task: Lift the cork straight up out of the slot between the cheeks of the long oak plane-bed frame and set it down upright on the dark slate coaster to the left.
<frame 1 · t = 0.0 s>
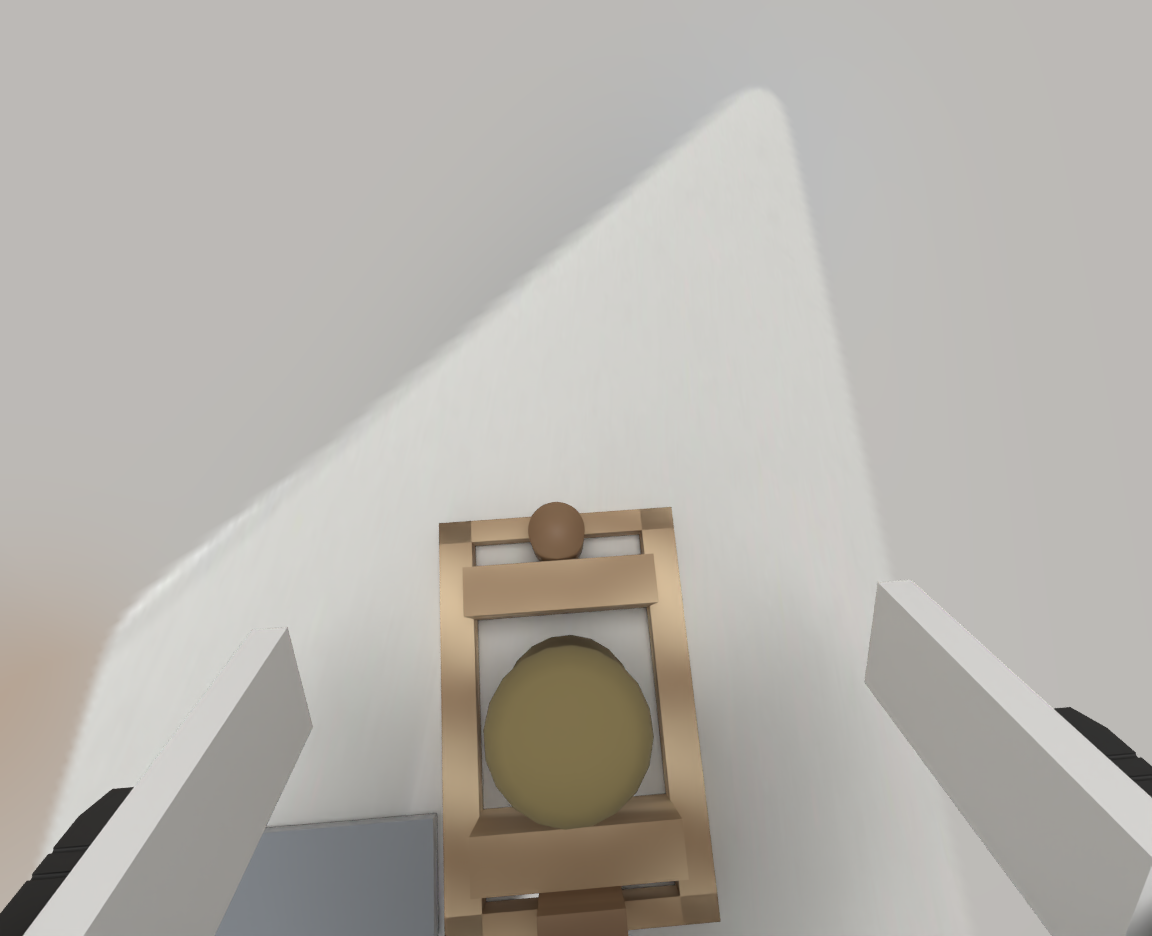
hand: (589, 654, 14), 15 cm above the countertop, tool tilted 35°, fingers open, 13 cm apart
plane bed: (568, 703, 28), on the countertop
cork: (568, 703, 28), resting in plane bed
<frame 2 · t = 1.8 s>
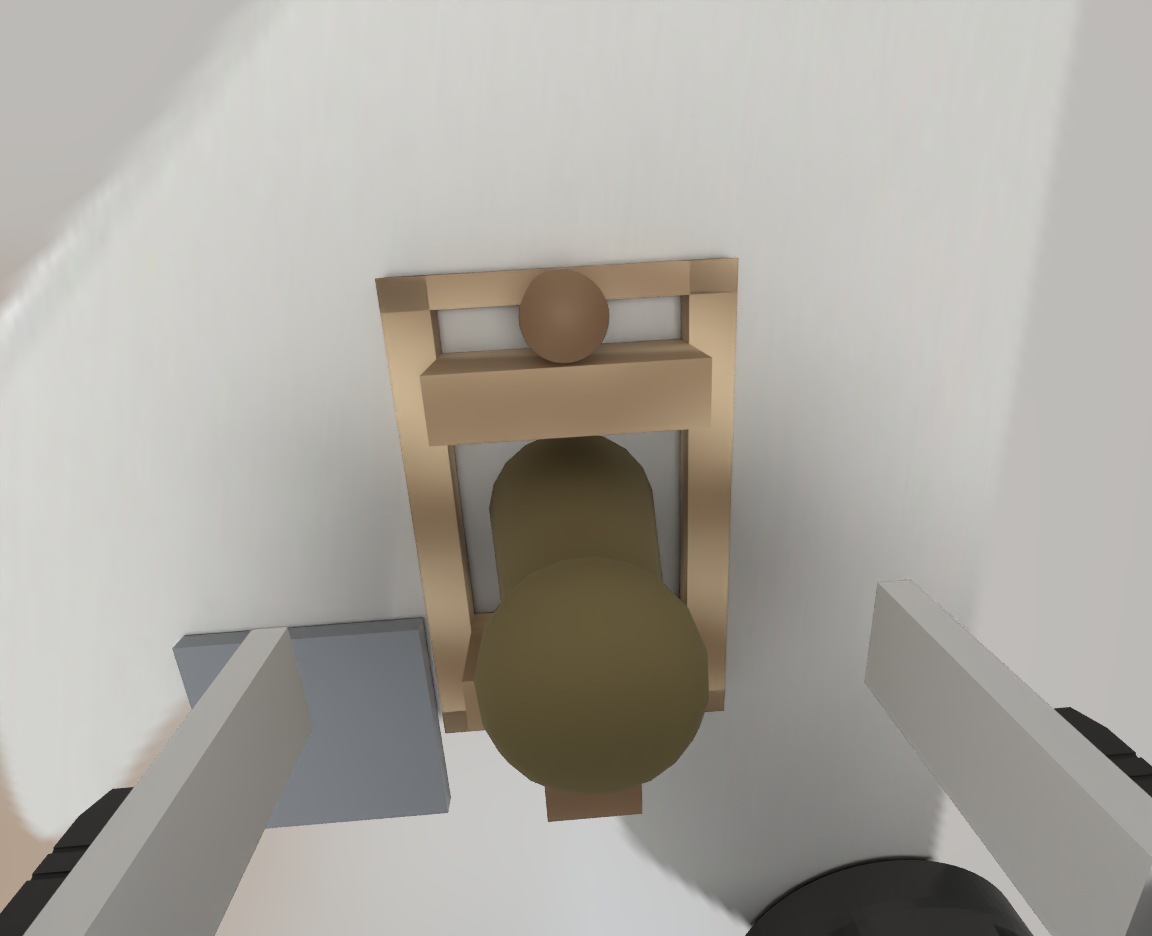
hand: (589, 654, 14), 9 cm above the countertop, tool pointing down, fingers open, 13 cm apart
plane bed: (572, 511, 22), on the countertop
slate coaster: (326, 721, 25), on the countertop
cork: (571, 508, 23), resting in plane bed
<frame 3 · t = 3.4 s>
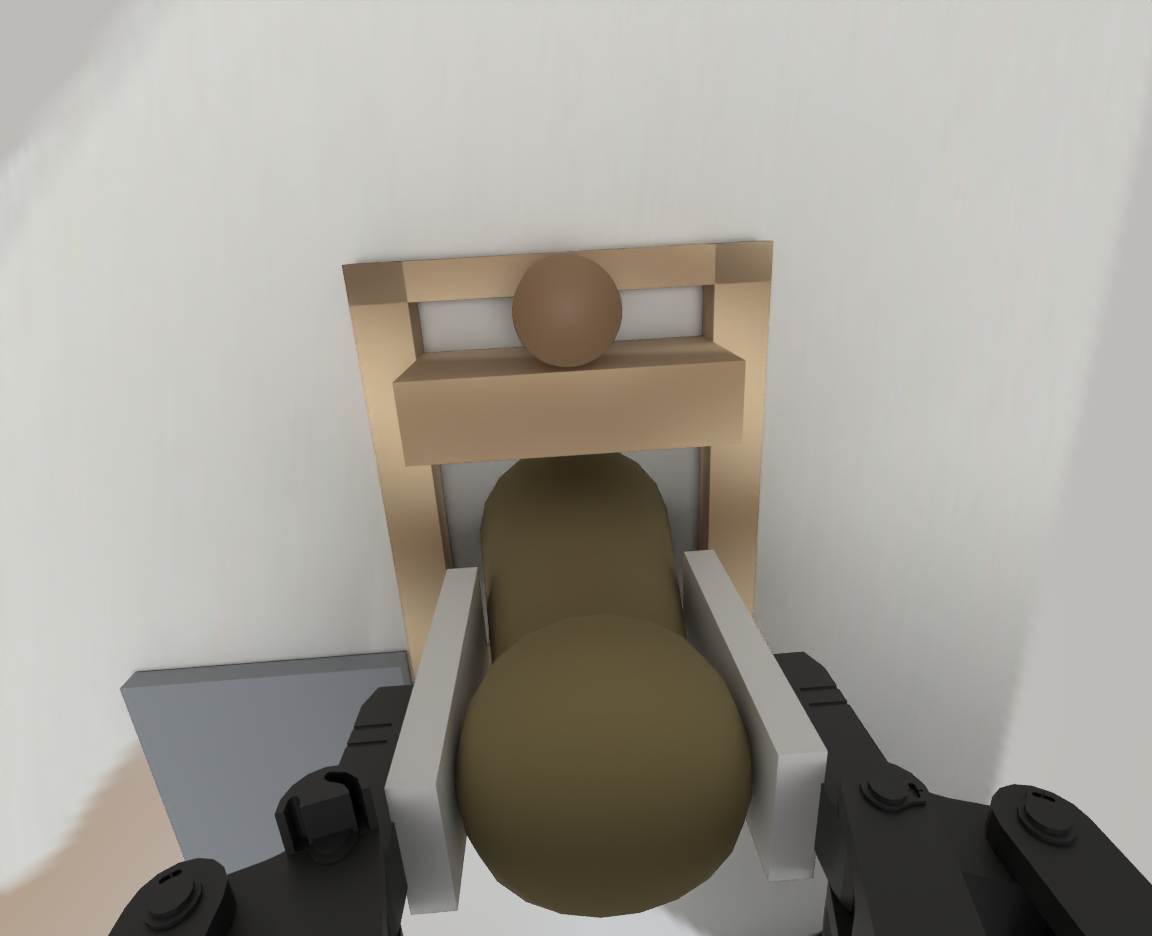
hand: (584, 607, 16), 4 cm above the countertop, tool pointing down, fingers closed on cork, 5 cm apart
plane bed: (575, 532, 20), on the countertop
slate coaster: (299, 764, 22), on the countertop
cork: (574, 529, 20), resting in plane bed, touching gripper
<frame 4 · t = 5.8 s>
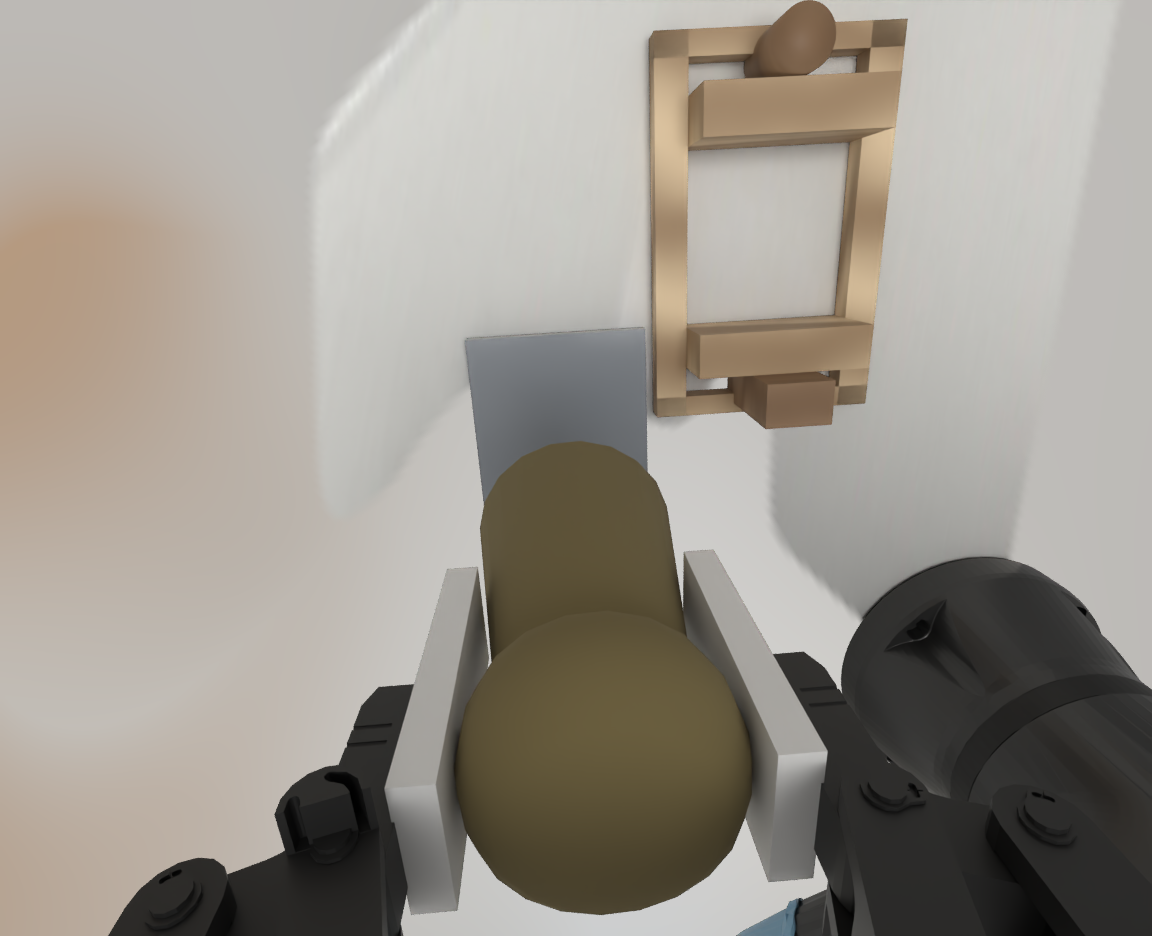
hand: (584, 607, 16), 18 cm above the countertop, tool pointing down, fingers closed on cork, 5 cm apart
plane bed: (762, 237, 30), on the countertop
slate coaster: (560, 417, 33), on the countertop
cork: (574, 528, 20), point 14 cm above the countertop, touching gripper
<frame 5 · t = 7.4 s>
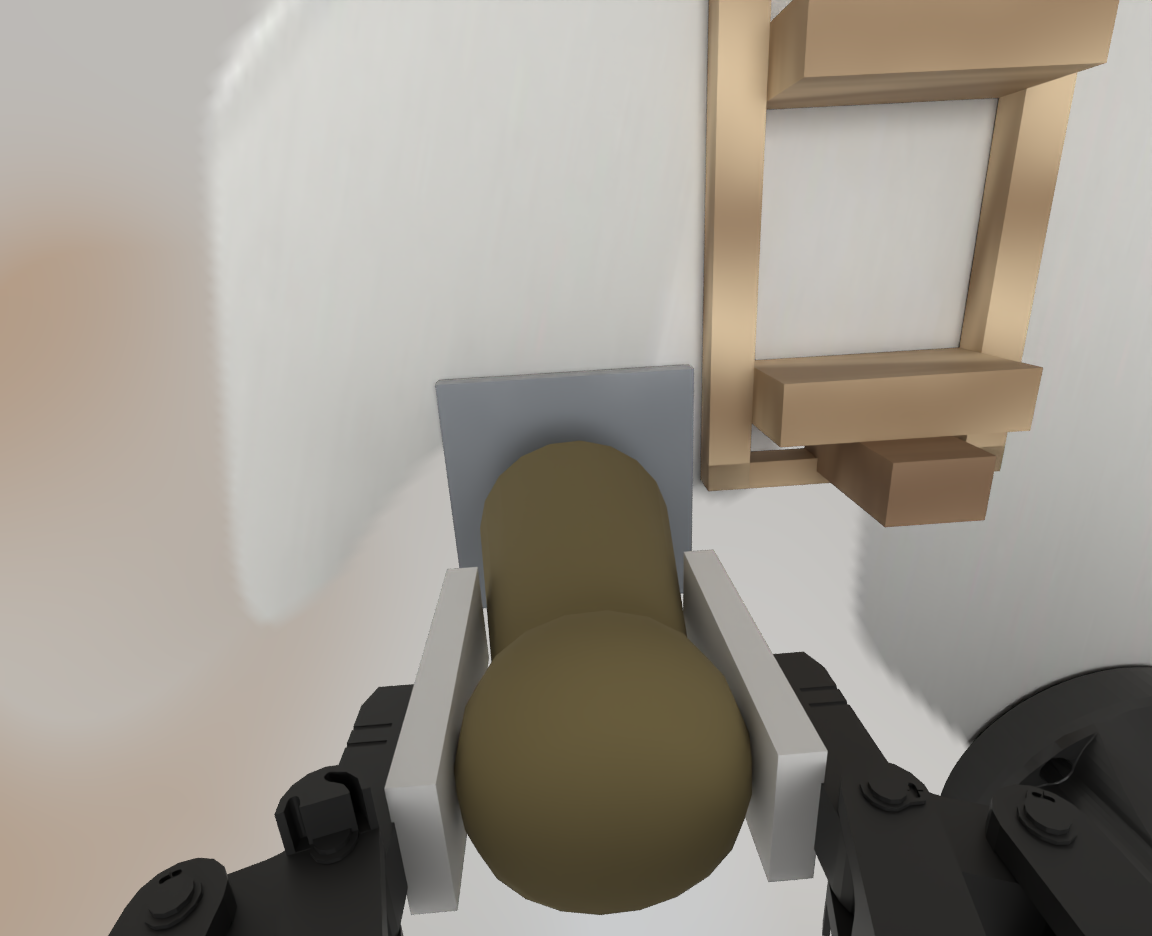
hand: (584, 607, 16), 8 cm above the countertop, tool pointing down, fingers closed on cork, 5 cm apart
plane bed: (863, 237, 21), on the countertop
slate coaster: (571, 488, 24), on the countertop
cork: (574, 527, 20), point 4 cm above the countertop, touching gripper
when the fingers open (6 cm above the countertop, at t = 8.6 s): cork drops 1 cm, resting on slate coaster.
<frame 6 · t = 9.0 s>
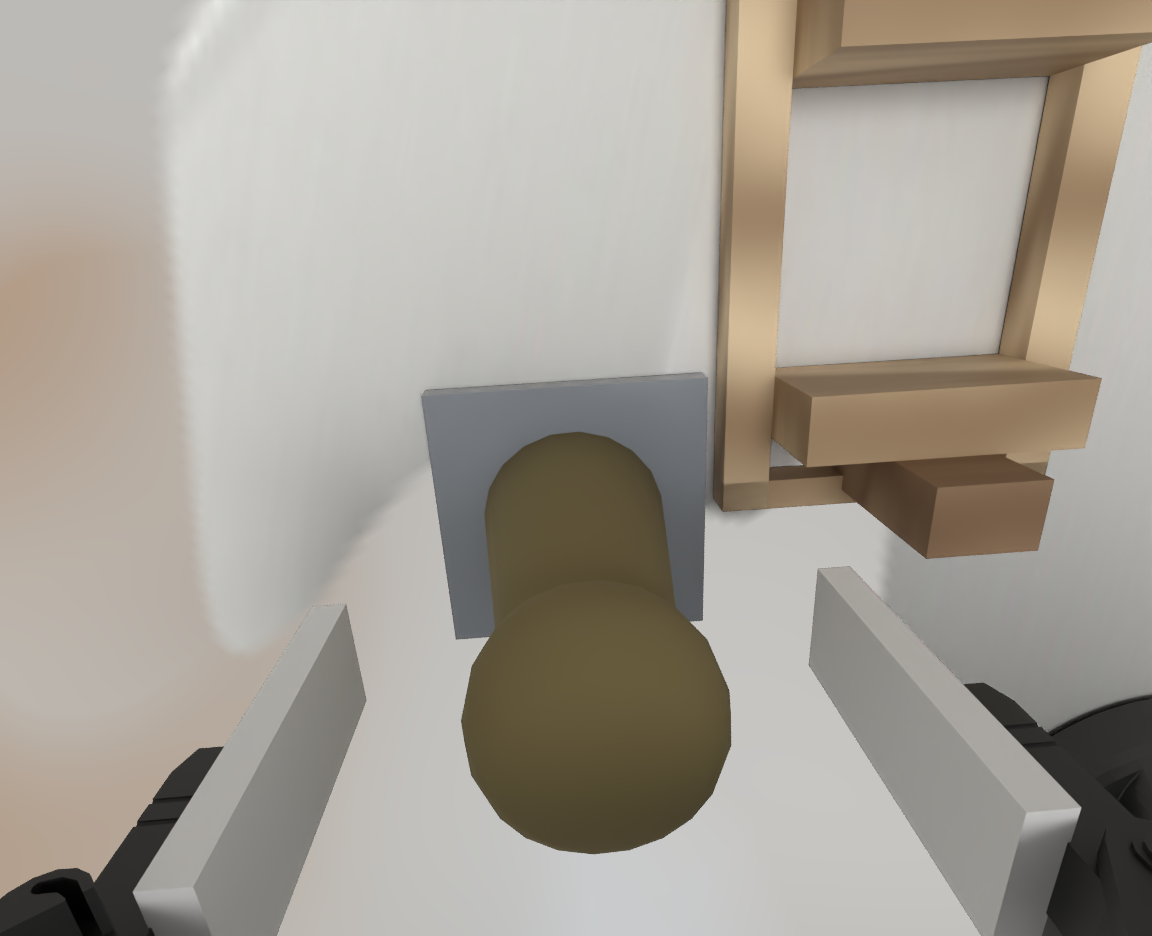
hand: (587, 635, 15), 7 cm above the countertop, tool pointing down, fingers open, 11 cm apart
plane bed: (896, 232, 19), on the countertop
slate coaster: (572, 507, 22), on the countertop
cork: (573, 514, 21), point 1 cm above the countertop, touching slate coaster
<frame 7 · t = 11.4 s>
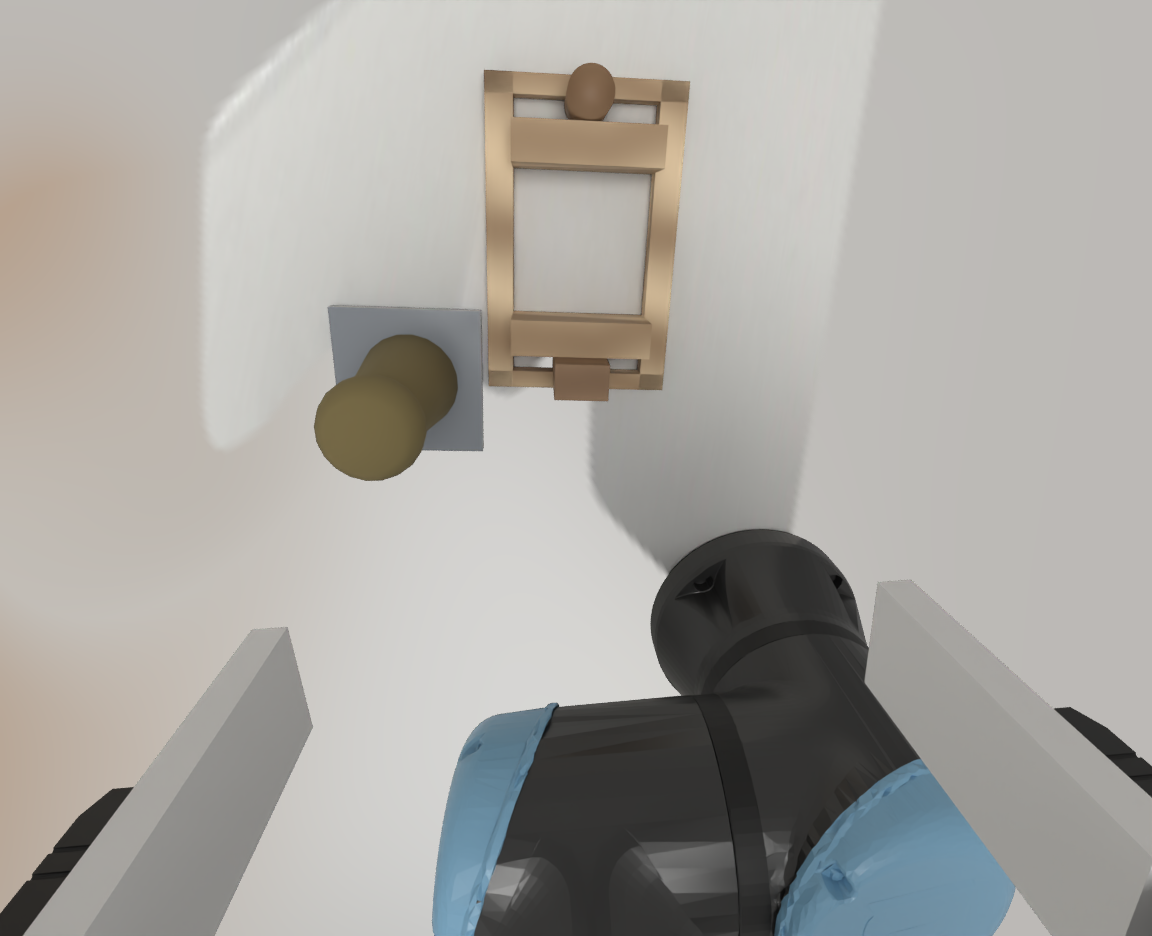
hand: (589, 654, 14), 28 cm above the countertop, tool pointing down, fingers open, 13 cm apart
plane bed: (580, 244, 37), on the countertop
slate coaster: (411, 379, 39), on the countertop
cork: (410, 381, 39), point 1 cm above the countertop, touching slate coaster
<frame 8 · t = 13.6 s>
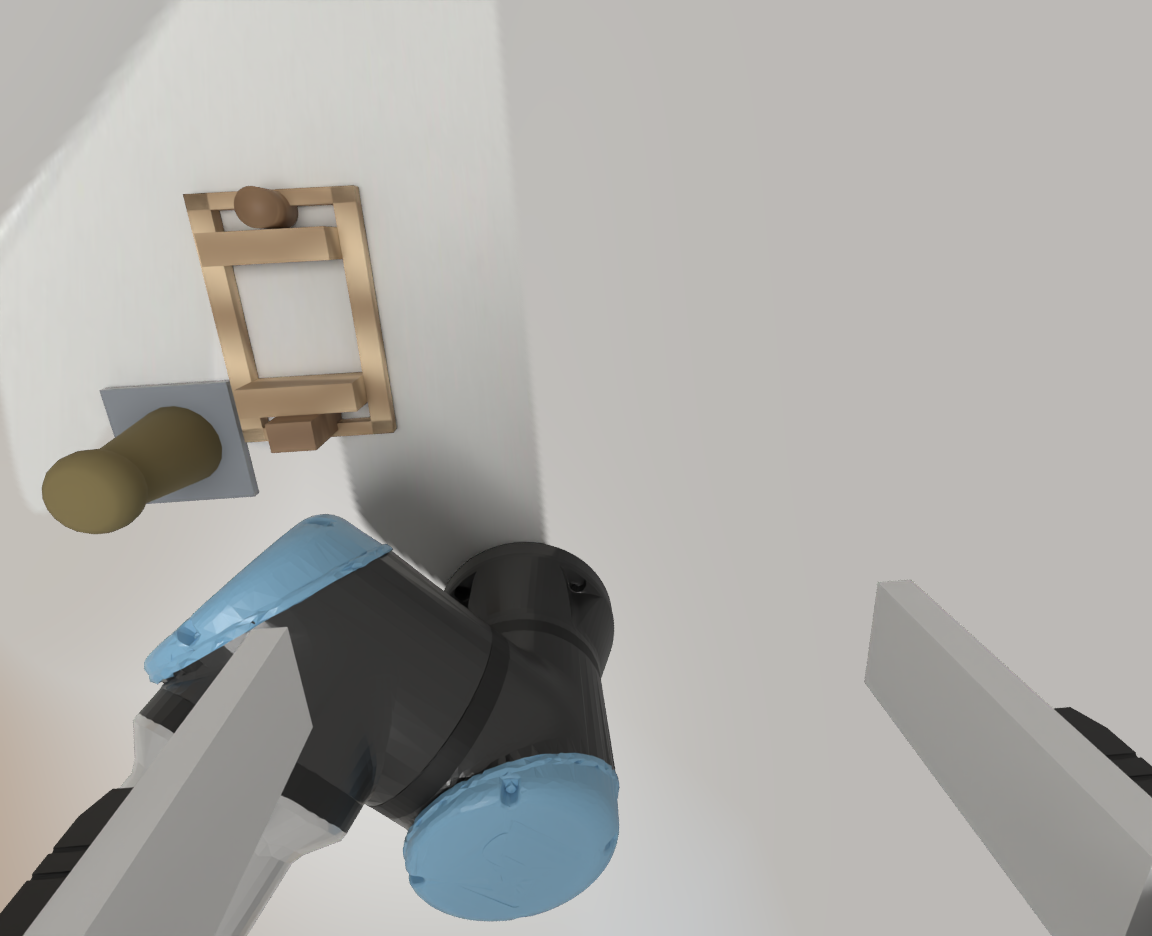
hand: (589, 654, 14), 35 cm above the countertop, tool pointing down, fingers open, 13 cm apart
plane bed: (301, 320, 44), on the countertop
slate coaster: (185, 442, 47), on the countertop
cork: (181, 444, 46), point 1 cm above the countertop, touching slate coaster
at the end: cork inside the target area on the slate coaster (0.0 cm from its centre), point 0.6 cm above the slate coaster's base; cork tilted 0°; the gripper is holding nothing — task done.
